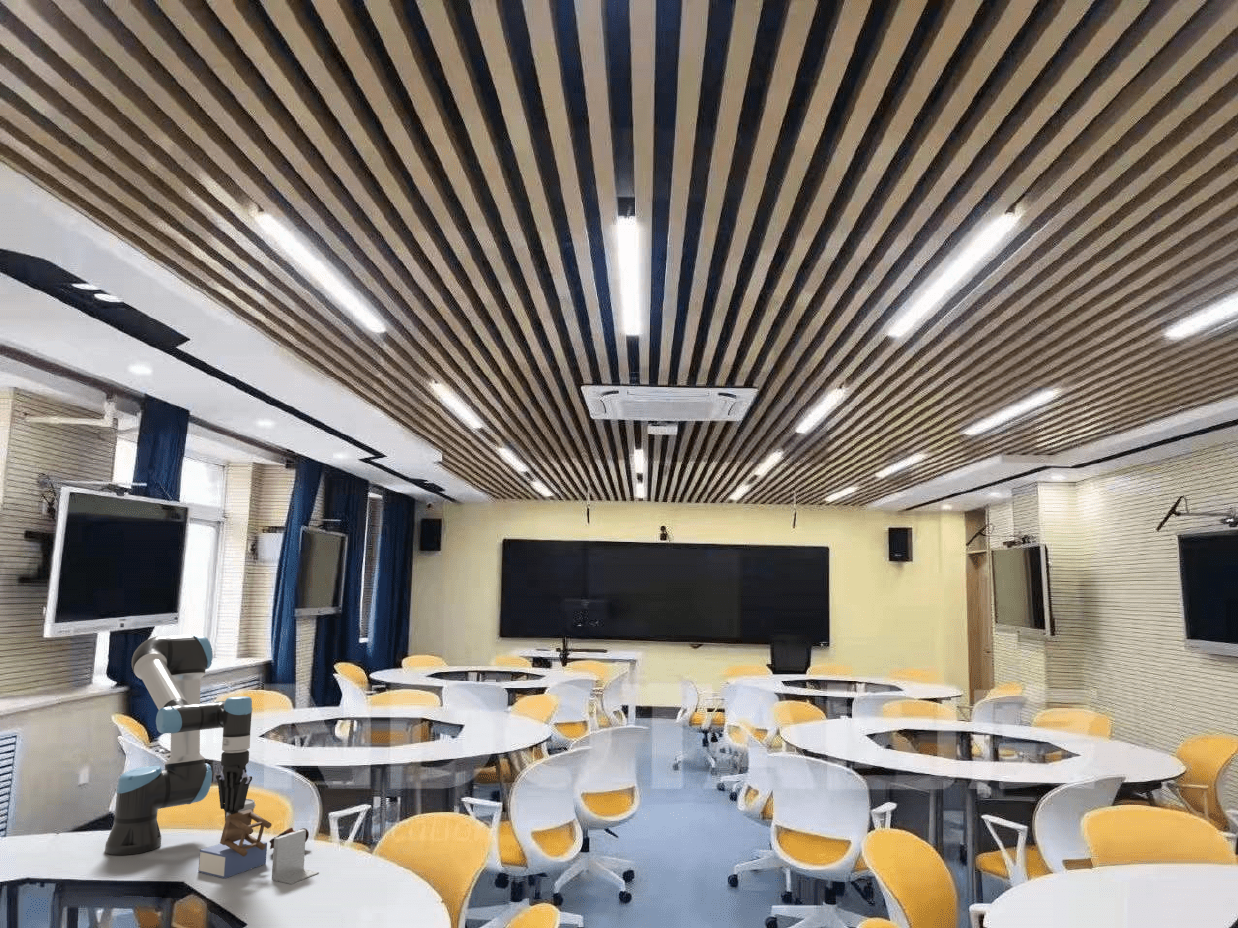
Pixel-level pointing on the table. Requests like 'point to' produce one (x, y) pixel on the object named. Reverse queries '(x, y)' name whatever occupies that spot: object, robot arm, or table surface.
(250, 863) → the book
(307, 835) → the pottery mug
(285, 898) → the table surface
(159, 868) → the table surface
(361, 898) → the table surface
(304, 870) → the bookend
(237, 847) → the stool
